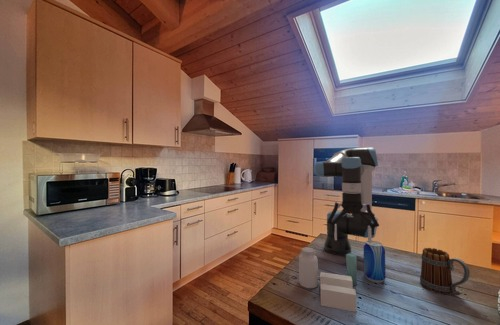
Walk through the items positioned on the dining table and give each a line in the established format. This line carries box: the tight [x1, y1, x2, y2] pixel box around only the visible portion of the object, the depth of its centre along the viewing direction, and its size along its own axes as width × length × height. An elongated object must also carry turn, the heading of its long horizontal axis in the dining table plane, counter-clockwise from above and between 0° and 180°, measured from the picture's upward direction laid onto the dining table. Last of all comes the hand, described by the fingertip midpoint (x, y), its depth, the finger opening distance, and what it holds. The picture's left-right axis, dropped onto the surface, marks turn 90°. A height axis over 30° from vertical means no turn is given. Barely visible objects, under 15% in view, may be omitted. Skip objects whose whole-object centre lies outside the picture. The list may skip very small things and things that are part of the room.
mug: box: [419, 247, 471, 296], centre depth 86 cm, size 16×11×15 cm
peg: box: [345, 253, 358, 286], centre depth 92 cm, size 4×4×12 cm
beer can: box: [363, 240, 386, 284], centre depth 95 cm, size 8×8×16 cm
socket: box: [319, 271, 358, 313], centre depth 82 cm, size 13×12×6 cm
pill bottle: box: [298, 246, 319, 289], centre depth 91 cm, size 8×8×15 cm
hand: (352, 240), depth 92 cm, fingers open, 13 cm apart
